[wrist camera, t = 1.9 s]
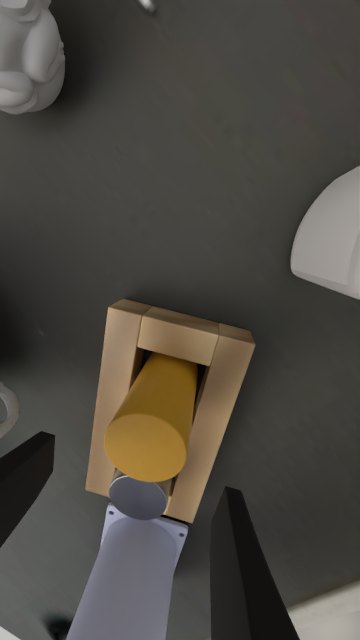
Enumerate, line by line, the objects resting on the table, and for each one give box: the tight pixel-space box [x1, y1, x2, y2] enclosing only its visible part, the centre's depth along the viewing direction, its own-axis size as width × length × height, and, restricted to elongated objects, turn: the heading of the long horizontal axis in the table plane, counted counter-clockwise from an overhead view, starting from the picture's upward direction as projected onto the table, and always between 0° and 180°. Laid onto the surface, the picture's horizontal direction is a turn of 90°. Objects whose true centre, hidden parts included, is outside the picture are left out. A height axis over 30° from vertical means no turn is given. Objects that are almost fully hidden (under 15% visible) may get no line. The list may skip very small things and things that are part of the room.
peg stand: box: [86, 299, 255, 523], centre depth 18 cm, size 9×16×2 cm, turn 168°
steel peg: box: [109, 469, 172, 520], centre depth 18 cm, size 4×4×5 cm
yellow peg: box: [104, 352, 198, 482], centre depth 15 cm, size 4×4×8 cm
